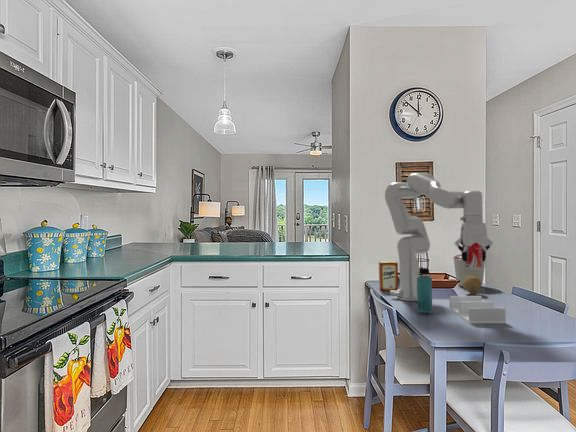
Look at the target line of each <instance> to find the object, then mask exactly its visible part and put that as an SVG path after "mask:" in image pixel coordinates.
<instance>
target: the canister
mask: <svg viewBox="0 0 576 432" xmlns="http://www.w3.org/2000/svg"><path fill="white" fill-rule="evenodd" d="M452 259H453V264H454V265H453V266H454V271H455V273H454V274H455V280H456V279H458V280H460V282H459V284H458V283H457V285H458V286H460V287H463V282H464V281H465V279H466V278H467V277H468V276H476V277H478V278H479V279H480V281H481V286H482V285H483V283H484V276H485V267H486V261H487V258H486V259H485V261H483V264H482V267H481V268H480V269H468V268H467V267H465V261H463V259H462V254H457V255H456V254H455V256H452ZM463 288H464V287H463Z"/></svg>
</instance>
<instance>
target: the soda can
mask: <svg viewBox="0 0 576 432" xmlns="http://www.w3.org/2000/svg"><path fill="white" fill-rule="evenodd" d="M466 252H467V262H465V267H467V268H468V269H480V268H481V267H482V264H483V253H482V246H481V245H480V244H479V243H474V244H472V246H467V250H466Z"/></svg>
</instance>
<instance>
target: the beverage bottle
mask: <svg viewBox="0 0 576 432" xmlns="http://www.w3.org/2000/svg"><path fill="white" fill-rule="evenodd" d="M419 274H421V275H419V277H418V278H417V301H416V308H417V311H418V312H421V313H432V312H433V286H432V284H433V283H432V282H433V279H432V277H431V276H429V274H430V269H429V268H426V267H421V268H420V267H419ZM423 274H424V275H423ZM427 274H428V275H427Z"/></svg>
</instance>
